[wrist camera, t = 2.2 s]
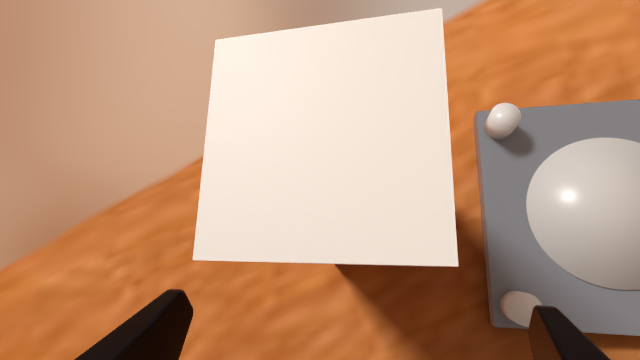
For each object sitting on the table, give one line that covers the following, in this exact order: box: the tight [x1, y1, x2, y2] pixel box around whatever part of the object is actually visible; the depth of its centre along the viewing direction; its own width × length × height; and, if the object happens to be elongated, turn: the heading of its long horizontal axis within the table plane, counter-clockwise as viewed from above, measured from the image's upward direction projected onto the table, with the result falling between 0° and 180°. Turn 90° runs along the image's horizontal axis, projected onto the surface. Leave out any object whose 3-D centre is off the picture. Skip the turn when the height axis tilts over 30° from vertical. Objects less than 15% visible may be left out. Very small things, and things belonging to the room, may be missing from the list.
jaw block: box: [193, 8, 458, 267], centre depth 14 cm, size 5×5×14 cm
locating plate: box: [474, 99, 640, 336], centre depth 17 cm, size 11×11×2 cm
